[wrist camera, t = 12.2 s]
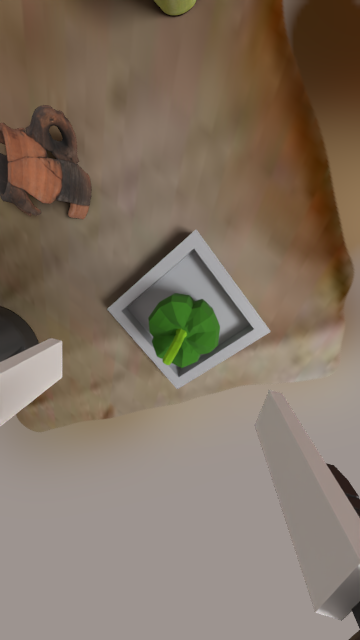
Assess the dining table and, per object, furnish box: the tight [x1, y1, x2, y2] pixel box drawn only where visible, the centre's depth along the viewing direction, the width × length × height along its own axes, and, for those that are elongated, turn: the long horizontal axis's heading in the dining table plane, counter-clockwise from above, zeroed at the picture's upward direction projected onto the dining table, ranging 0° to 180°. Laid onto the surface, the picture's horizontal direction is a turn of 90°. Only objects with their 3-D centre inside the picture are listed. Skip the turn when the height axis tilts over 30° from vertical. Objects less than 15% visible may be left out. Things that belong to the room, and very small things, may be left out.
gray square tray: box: [107, 230, 271, 389], centre depth 26 cm, size 16×16×3 cm
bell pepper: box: [148, 293, 220, 368], centre depth 22 cm, size 8×8×10 cm
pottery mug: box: [0, 105, 92, 219], centre depth 23 cm, size 12×10×8 cm
